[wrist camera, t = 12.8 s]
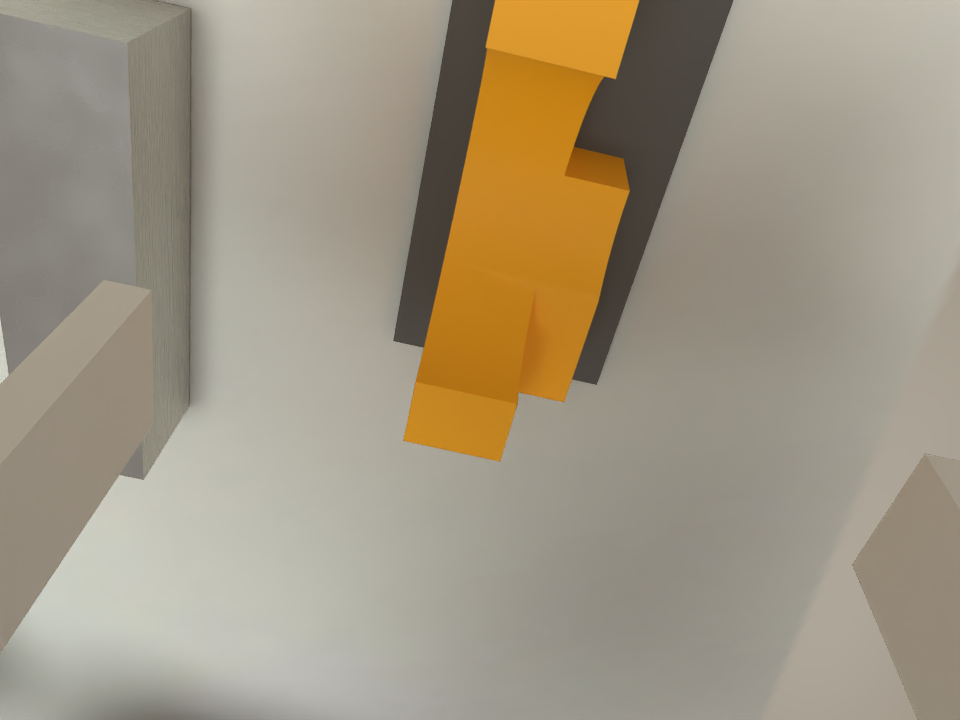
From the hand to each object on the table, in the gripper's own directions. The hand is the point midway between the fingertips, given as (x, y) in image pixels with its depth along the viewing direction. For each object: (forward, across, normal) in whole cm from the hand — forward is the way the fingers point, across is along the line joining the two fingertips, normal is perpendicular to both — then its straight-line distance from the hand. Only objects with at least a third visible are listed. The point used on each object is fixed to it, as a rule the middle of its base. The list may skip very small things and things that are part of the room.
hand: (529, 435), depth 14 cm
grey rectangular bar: (+12, +12, +4) cm, 18 cm away
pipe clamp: (+12, 0, -1) cm, 12 cm away
